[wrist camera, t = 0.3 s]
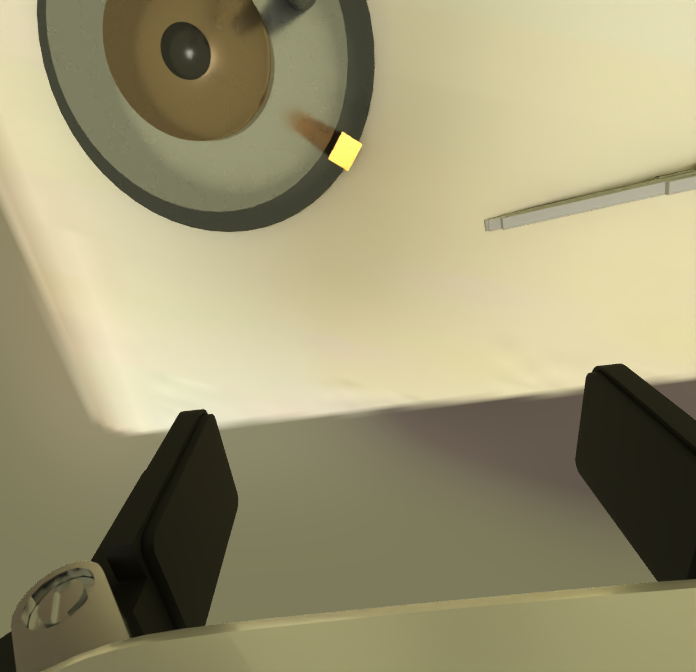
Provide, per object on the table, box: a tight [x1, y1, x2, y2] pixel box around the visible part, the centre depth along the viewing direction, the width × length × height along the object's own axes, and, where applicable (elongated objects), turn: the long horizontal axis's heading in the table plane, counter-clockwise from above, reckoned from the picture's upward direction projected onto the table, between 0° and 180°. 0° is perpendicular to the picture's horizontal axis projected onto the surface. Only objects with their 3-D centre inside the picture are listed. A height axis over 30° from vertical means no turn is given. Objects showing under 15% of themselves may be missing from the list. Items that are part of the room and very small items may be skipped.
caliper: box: [485, 169, 696, 231], centre depth 34 cm, size 20×1×6 cm, turn 105°
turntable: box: [46, 0, 348, 212], centre depth 28 cm, size 20×20×7 cm
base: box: [37, 0, 374, 232], centre depth 30 cm, size 24×24×6 cm
